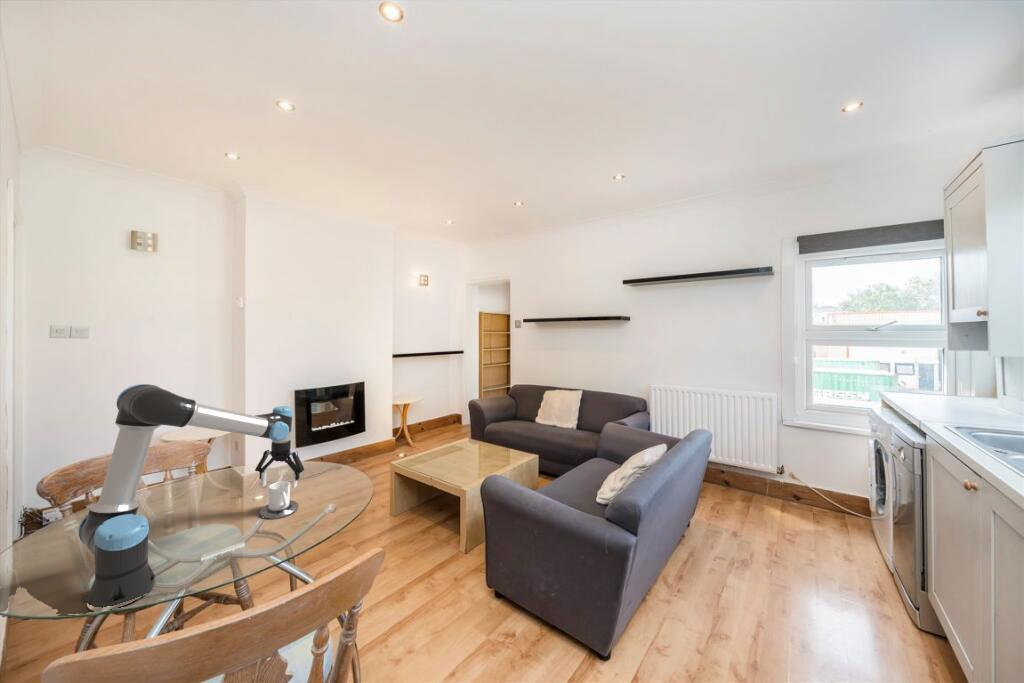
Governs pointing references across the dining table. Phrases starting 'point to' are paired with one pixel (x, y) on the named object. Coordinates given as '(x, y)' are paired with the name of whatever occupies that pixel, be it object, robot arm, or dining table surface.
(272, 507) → the mug
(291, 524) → the dining table surface
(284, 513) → the metal plate
